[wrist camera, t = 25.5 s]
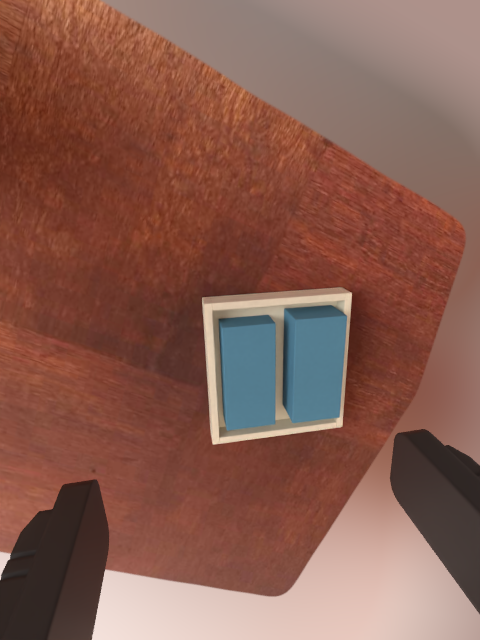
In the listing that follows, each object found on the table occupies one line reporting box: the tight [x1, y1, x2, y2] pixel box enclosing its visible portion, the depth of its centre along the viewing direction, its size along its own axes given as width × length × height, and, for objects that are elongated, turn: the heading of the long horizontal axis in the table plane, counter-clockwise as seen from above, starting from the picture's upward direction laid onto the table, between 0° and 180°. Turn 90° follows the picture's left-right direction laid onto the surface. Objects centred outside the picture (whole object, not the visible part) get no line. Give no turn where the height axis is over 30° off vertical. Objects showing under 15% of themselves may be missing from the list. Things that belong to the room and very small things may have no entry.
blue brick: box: [218, 315, 276, 431], centre depth 40 cm, size 6×12×3 cm, turn 2°
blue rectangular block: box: [283, 305, 347, 423], centre depth 40 cm, size 6×12×4 cm, turn 1°
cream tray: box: [202, 287, 352, 444], centre depth 41 cm, size 16×17×3 cm
